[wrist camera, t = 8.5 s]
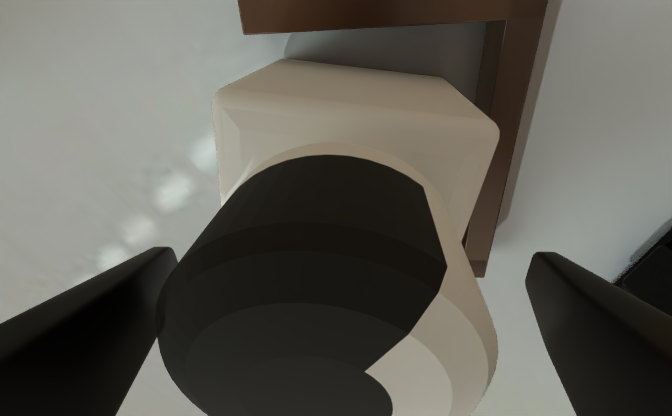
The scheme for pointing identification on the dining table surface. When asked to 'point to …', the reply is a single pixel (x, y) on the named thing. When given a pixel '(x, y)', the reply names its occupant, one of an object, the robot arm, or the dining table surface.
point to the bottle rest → (494, 80)
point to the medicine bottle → (335, 251)
